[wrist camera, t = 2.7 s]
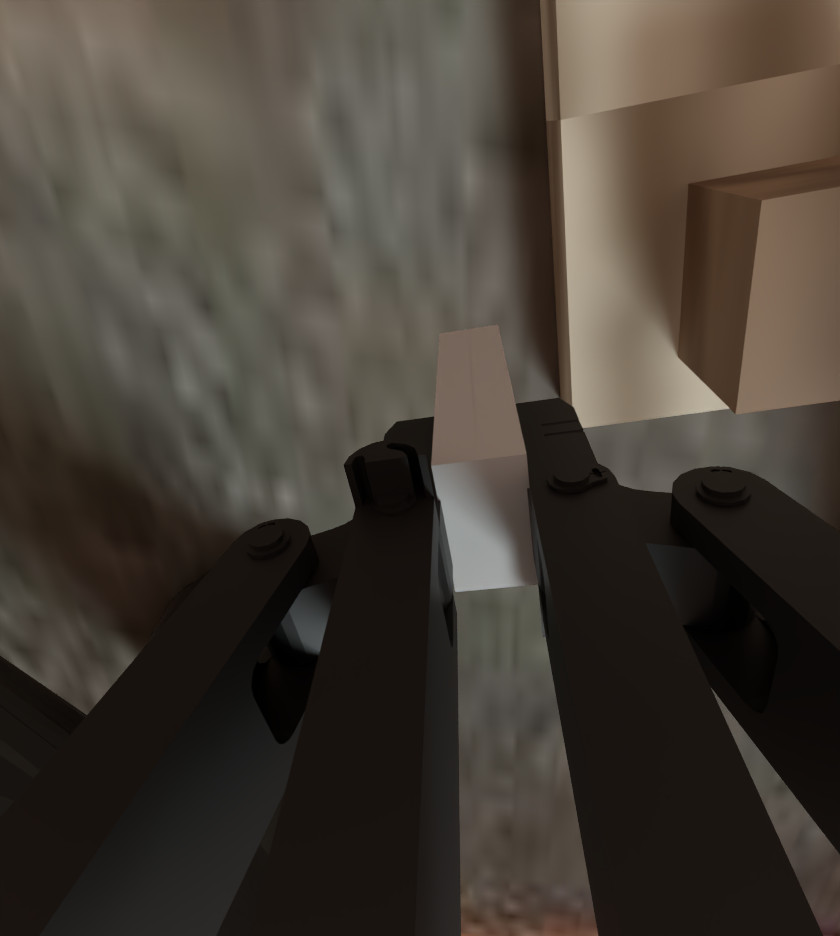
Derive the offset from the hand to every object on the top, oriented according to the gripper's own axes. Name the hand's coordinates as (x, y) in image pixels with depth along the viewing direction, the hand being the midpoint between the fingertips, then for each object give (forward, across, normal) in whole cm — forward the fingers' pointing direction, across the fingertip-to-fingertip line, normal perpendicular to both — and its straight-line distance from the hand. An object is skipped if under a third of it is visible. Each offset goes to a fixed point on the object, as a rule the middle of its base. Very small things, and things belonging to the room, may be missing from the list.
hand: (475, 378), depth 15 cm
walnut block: (+7, -11, 0) cm, 13 cm away
